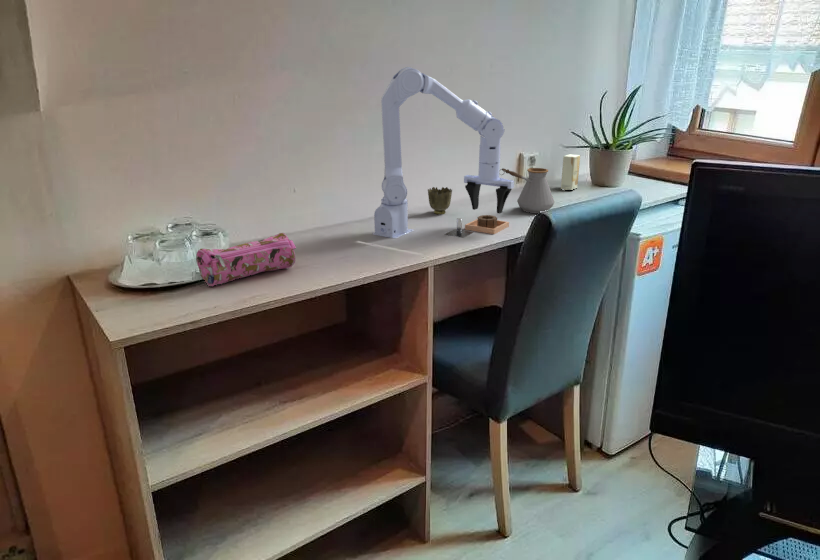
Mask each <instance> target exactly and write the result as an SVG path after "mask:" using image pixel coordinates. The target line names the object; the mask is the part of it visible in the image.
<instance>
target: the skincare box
mask: <svg viewBox="0 0 820 560" xmlns="http://www.w3.org/2000/svg"><path fill="white" fill-rule="evenodd" d="M580 162H581V155H580V154H571V153H569V154H566V155H563V158H562V166H561V167H562V171H561V182H560V190H561V189H564V190H563V191H565V190H573V189H575V188H577V189H578V183H579V173H580ZM575 190H576V189H575ZM573 191H574V190H573Z"/></svg>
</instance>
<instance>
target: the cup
mask: <svg viewBox="0 0 820 560" xmlns="http://www.w3.org/2000/svg"><path fill="white" fill-rule="evenodd" d="M427 195H428V203H429V206H430V208H431V209H432V210H433V214H435V215H441V216H442V215H446V213H447V212H446V210H448V209H449V208H450V205H451V202H452V195H453V188H452V189H451V188H448V186H447V187H443V186H442V187H441V188H440V189H439V188H438V187H437V186H436V187H434V186H432V188H427Z"/></svg>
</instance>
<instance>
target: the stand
mask: <svg viewBox="0 0 820 560" xmlns="http://www.w3.org/2000/svg"><path fill="white" fill-rule="evenodd" d="M462 223H463V218H461V217H458V218H456V228H453V229H452V230H449V232H446V233H444V236H452V237H458V238H466V237H468V236H469V235H472V234H473V233H475V231H470V230H462V228H463V227H462V225H463V224H462Z"/></svg>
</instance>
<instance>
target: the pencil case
mask: <svg viewBox="0 0 820 560" xmlns="http://www.w3.org/2000/svg"><path fill="white" fill-rule="evenodd" d="M295 249H297V247H296V245H295V243H294V241H293V240H292V239H291V240H290V239H289V237H288V235H287V234H286V233H284V232H279V233H278V234H275V235H271V236H270V237H268V238H265V239H264V238H263V239H260V240H253V241H248V242H245V243H241V244H238V245H237V244H236V245H234V246H230V247H228V248H226V249H225V248H223V249H222V248H212V249H211V248H210V249H207V248H200V249H198V250H197V252H196V264H197V267H198V269H199V273H200V276H201V278H202V279H203V280H205V281H204V283H205V282H206V283H207V284H208V285H209V286H212V287H215V286H214V285H216V286H218V285H217V284H221V285H223V284H222V283H224V284H226V283H228V282H234V281H235V279H236V280H239V278H240V279H242V278H245V277H250V275H251V276H254V275H257V274H259V273H262V272H264V273H265V272H272V271H277V270H283V269H289V268H292V267H293V266H294V265H295V263H296V252H295ZM233 280H234V281H233ZM206 283H205V284H206ZM209 286H208V287H209Z"/></svg>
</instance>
